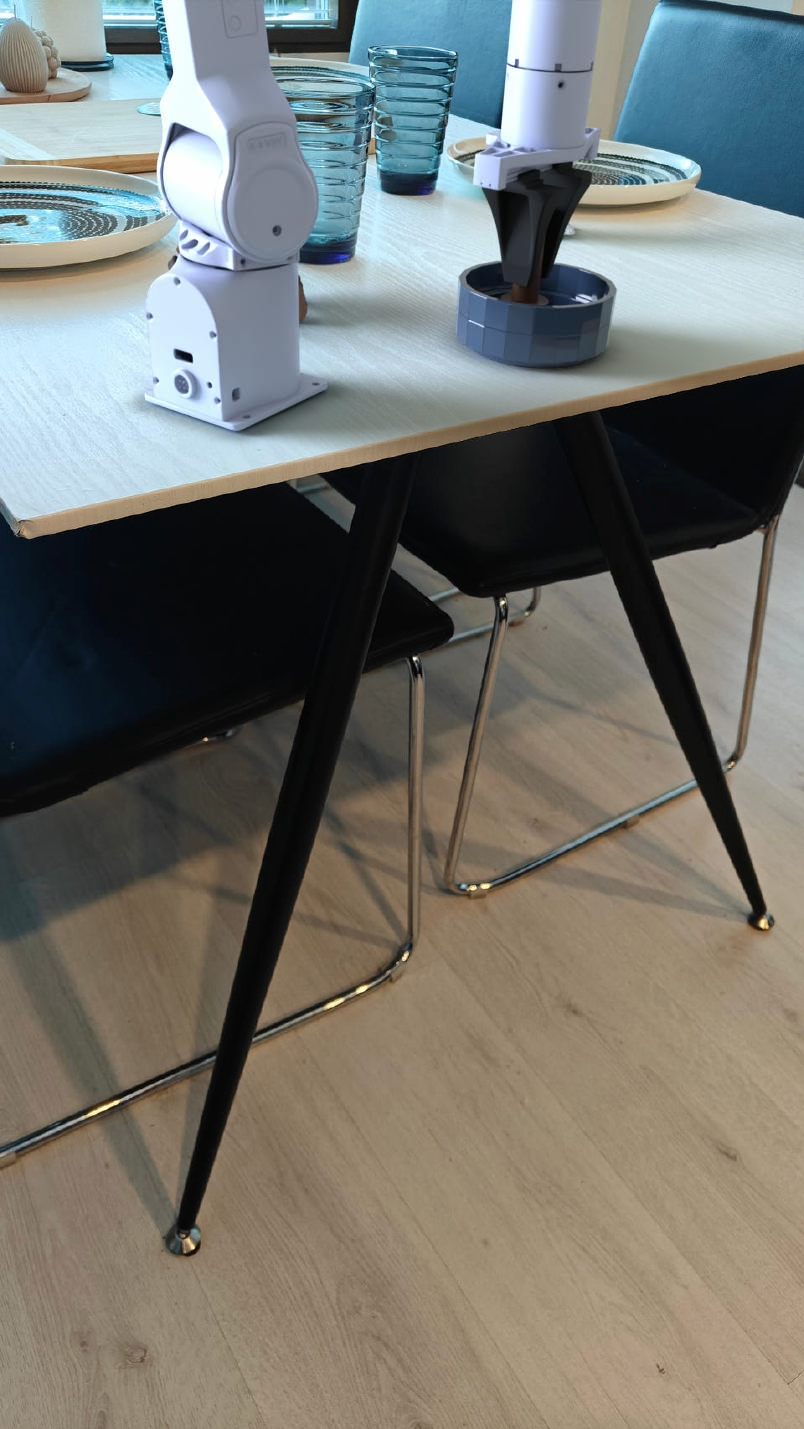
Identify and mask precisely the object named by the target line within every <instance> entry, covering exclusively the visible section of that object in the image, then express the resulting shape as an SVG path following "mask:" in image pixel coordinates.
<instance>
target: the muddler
mask: <svg viewBox="0 0 804 1429" xmlns="http://www.w3.org/2000/svg"><path fill="white" fill-rule="evenodd" d="M545 237H546V235H545ZM544 246H545V238H544V242H543V247H542V252H541V257H540V262H539V266H538V270H537V274H536V277H535V279H534V282H533V284H532V285H531V286H529V287H526V286H521V285H517V284H513V286H512V292H510V293H506V294H503V295H502V296H501V298H500V299H502V300H506V301H510V302H515V303H523V304H531V305H547V306H548V304H549V300H548V299H547V298H546V297H544V296H542V295H539V289H540V280H541V271H542V263H543V254H544Z"/></svg>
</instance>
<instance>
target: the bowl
mask: <svg viewBox="0 0 804 1429" xmlns="http://www.w3.org/2000/svg"><path fill="white" fill-rule="evenodd" d="M512 286H513V283H509V282H505V281H504V276H503V269H502V262H501V260H493V261H489V262H484V263H478V264H475V265H472V266H470V267H467V268H465V269H464V270H463V271H462V272H461V273H460V275H458V280H457V293H456V294H457V295H456V308H455V322H454V323H455V324H454V331H455V336H456V339H457V340H458V341H460V342H461V344H463V345H464V346H466V347H467V348H469V350H471V351H472V352H474V353H475V354H477V355H479V356H481V357H483V358H485V359H487V360H491V361H494V362H497V363H502V364H506V365H510V366H518V367H526V368H541V369H543V368H544V369H545V368H562V367H569V366H574V365H577V364H581V363H584V362H587V361H588V360H590V359H591V358H595V357H597V356H598V355H600V354H602V353H603V352H605V351H606V349H607V347H608V345H609V342H610V337H611V336H610V335H611V330H612V324H613V323H612V322H613V317H614V311H615V305H616V299H617V291H618V288H617V287H616V285H615V284H614V282H613V281H612V280H611V279H609V278H607V277H606V276H604V275H603V274H601V273H598V272H595V271H593V270H590V269H587V268H584V267H582V266H581V267H580V266H576V265H571V264H567V263H562V262H554V265H553V268H552V270H551V273H550V275H549V277H548V278H546V279H543V278H541V280H540V289H539V295H542V296H544V297H546V298H547V299H548V300H549V304H548V306H547V305H531V304H523V303H515V302H510V301H506V300H502V299H500V298H501V296H502V295H503V294H506V293H510V292H512Z"/></svg>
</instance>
